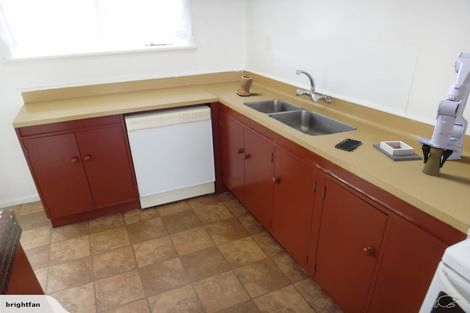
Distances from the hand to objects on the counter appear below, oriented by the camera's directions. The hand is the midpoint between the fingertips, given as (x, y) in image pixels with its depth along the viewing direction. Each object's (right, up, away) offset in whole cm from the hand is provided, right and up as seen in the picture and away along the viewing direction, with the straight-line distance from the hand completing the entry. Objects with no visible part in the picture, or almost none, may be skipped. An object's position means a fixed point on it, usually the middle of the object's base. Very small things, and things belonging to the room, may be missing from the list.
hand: (433, 164), depth 122 cm
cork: (0, -3, +1) cm, 4 cm away
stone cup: (-70, +53, +129) cm, 157 cm away
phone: (-23, +8, +28) cm, 37 cm away
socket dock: (-4, +5, +20) cm, 21 cm away
